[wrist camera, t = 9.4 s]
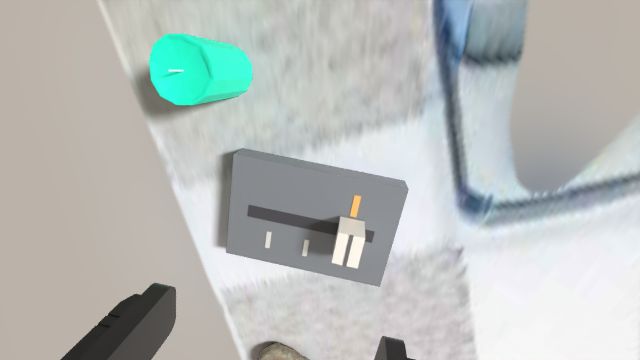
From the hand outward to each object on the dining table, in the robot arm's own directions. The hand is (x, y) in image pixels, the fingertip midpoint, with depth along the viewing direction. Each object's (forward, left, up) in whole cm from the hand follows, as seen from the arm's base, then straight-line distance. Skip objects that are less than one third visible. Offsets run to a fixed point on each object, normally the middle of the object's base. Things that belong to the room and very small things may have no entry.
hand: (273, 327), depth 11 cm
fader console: (+9, -1, -28) cm, 29 cm away
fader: (+9, +4, -25) cm, 27 cm away
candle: (-7, -14, -28) cm, 32 cm away
